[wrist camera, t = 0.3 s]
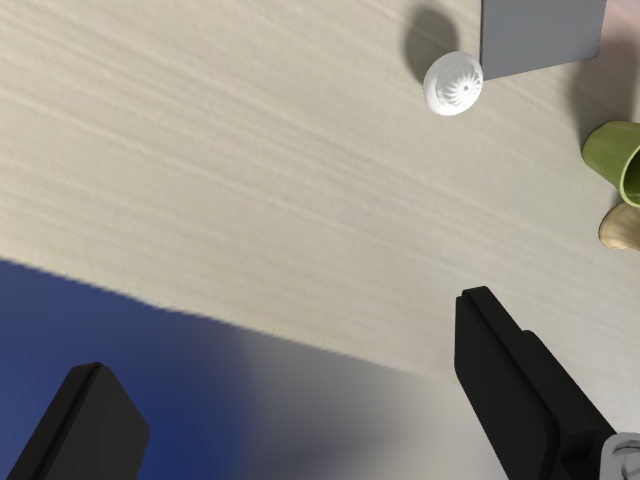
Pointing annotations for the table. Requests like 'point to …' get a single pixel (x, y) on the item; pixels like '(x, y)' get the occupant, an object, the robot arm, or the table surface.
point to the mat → (537, 34)
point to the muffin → (453, 83)
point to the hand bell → (621, 227)
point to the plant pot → (617, 157)
